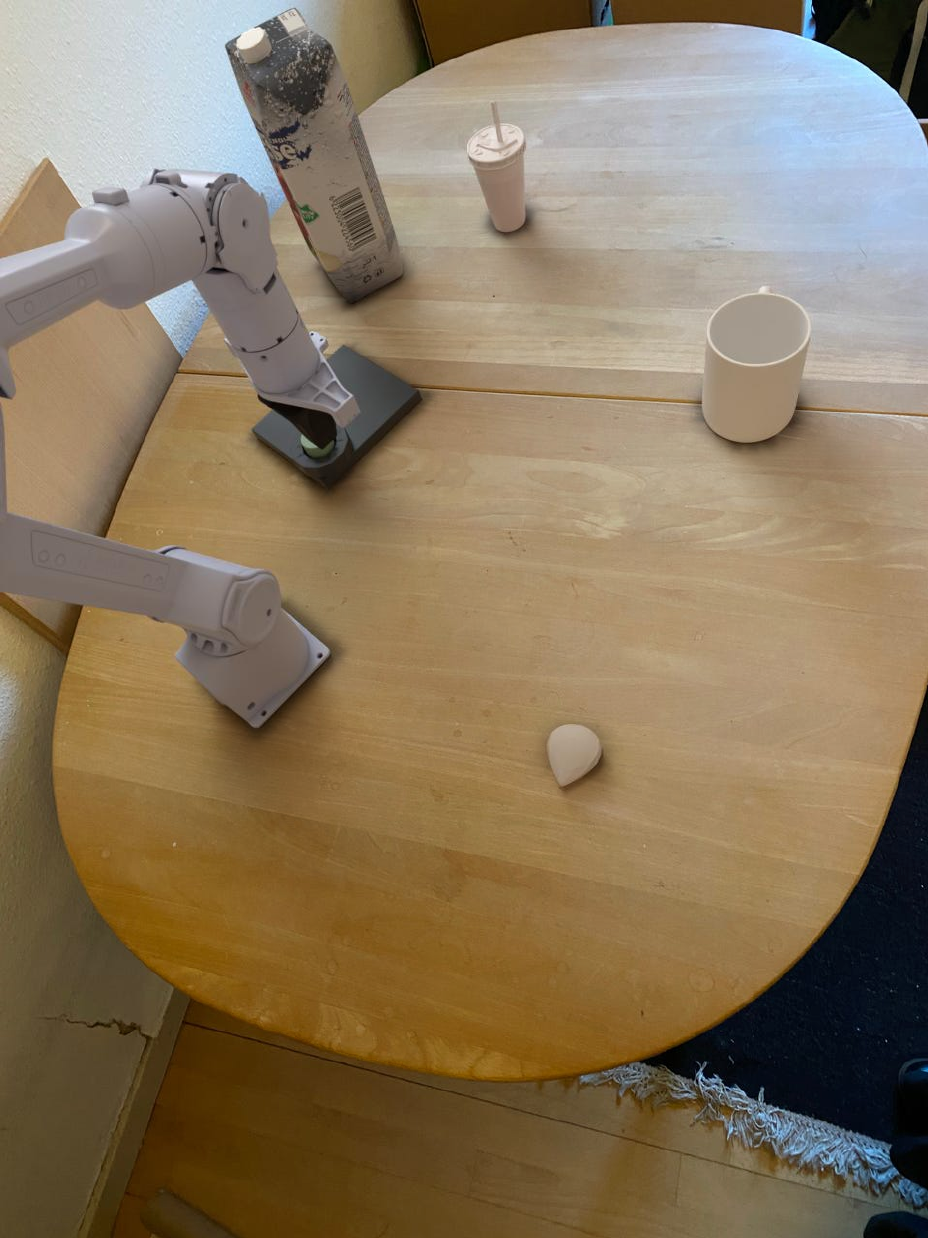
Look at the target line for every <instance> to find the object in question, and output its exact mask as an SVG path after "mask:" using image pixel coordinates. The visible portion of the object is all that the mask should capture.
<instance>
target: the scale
mask: <svg viewBox="0 0 928 1238" xmlns="http://www.w3.org/2000/svg"><path fill="white" fill-rule="evenodd" d="M326 361H327V362H328V364H329V366H330V367H331V369H332V370H333V372H334V374H335V375H336V377H337V378H338V380H339V382H340V383H341V385H342V386H343V387H344V388H345V389H346V390H347V391H348V392H349V393H351V394H352V395H353V396H354V398H355V400H356V402H357V404H358V407H359V409H360V411H361V412H360V413H359V414H358V415H357V416H356V417H355V418H354V419H353V420H352V421H351V422H350V423H349V424H348V425H347V426H345V427H344V428H342V427H341V426H339V425H338V424H336V428H337V437H336V438H335V439H334V447H333V449H332V451H331V452H330V453H329V454H328V455H326V456H324V457H321V458H313V457H311V456H309V455H308V454H307V452H306V450H305V449H304V447H303V445H302V444H301V436H302V433H301V432H300V431H299V430H298V429H297V428H296V427H295V426H294V425H293V424H292V423H291V422H290V421H289V420H287V419H285V418H284V417H282V416H281V415H280V414H278V413H277V412H275V411H274V410H273V409H271V410H270V411H269V412H268V413H267V414H266V415H265V416H264V417H263V418H261V419H260V420H259V422H257V423H256V424H255V425H254V426H253V427H252V428H251V432H252V433H253V434H254V436H255V438H256V439H258V440H259V441H261V442H262V443H263V444H264V445H266V446H267V447H269V448H270V449H272V451H274V452H275V453H277V454H278V455H280V456H281V457H282V458H284V459H285V460H286V461H288V462H289V463H291V464H292V465H293V466H294V467H296V468H297V469H298V470H299V471H300V472H302V473H303V474H304V475H306V476H307V477H309V478H311V479H312V480H313V481H315V482H316V483H318V484H319V485H320V486H322V487H323V488H325V489H326V490H327V491H328V490H330V489H331V488H332V487H333V486H334V485H335V484H336V483H337V482H338V481H339V480H340V479H341V478H342V477H343V476H344V475H345V474H346V473H347V472H348V471H349V470H350V469H351V468H352V467H353V466H354V465H356V463H358V462H359V461H360V459H361V458H363V457H364V456H365V455H366V454H367V453H368V452H369V451H370V450H371V449H372V448H373V447H374V446H375V445H376V444H377V443H378V442H379V441H380V440H381V439H383V437H385V436H386V435H387V434H388V432H390V431H391V430H392V428H394V427H395V426H396V425H397V424H398V423H399V422H400V421H401V420H403V418H404V417H405V416H406V415H408V413H409V412H410V411H412V410H413V409H414V408H415V407H416V406H417V405H418V404H419V402H421V401H422V399H423V397H422V395H421V392H420V390H419V388H416V387H415V386H413V385H411V384H409V383H408V382H406V381H405V380H403V379H402V378H400V377H398V376H396V375H394V374H393V373H392V372H390V371H388V370H387V369H385V368H383V367H381V365H378V364H377V363H376V362H373V361H372V360H370V359H369V358H367V357H365V356H364V355H362V354H360V353H358V352H357V351H355V350H354V349H352V348H350V347H349V346H347V345H345V344H342V345H341V346H340V347H339V348H338V349H337V350H335V351H334V352H333V353H332V354H331V355H330V356H329V357H328V358H327V359H326Z"/></svg>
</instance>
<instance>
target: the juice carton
mask: <svg viewBox="0 0 928 1238" xmlns="http://www.w3.org/2000/svg"><path fill="white" fill-rule="evenodd" d="M224 48H225V51H226V54H227V57H228V60H229V62H230V65H231V69H232V71H233V74H234V78H235V81H236V83H237V87H238V89H239V92H240V95H241V97H242V100H243V102H244V104H245V107H246V109H247V111H248V113H249V116H250V118H251V121H252V123H253V125H254V128H255V130H256V132H257V135H258V136H259V139H260V141H261V144H262V146H263V148H264V150H265V153H266V155H267V157H268V160H269V162H270V164H271V166H272V168H273V171H274V173H275V176H276V178H277V180H278V182H279V185H280V187H281V189H282V192H283V194H284V196H285V198H286V201H287V203H288V205H289V208H290V210H291V213H292V214H293V217H294V219H295V221H296V223H297V226H298V228H299V230H300V232H301V234H302V237H303V239H304V241H305V243H306V245H307V247H308V249H309V251H310V252H311V254H312V255H313V257H314V258H315V260H316V261H317V262H318V263H319V265H320V266H321V267H322V269H323V270H324V272H325V273H326V275H327V276H328V278H329V280H330V281H331V282H332V283H333V284H334V286H335V287H336V288H337V290H338V291H339V293H340V294H341V295H342V296H343V297H344V298H345V300H346V301H347V302H349V303H352V304H353V303H355V302H357V301H360V300H361V299H362V298H364V297H366V296H368V295H369V294H371V293H373V292H374V291H376V290H378V289H380V288H382V287H384V286H385V285H388V284H390V283H392V282H393V281H395V280H398V279H399V278H400V277H402V275H403V272H404V271H403V263H402V257H401V251H400V246H399V241H398V237H397V234H396V231H395V230H396V229H395V227H394V224H393V221H392V218H391V215H390V212H389V209H388V205H387V202H386V199H385V196H384V193H383V191H382V187H381V184H380V181H379V177H378V175H377V172H376V169H375V165H374V162H373V159H372V155H371V153H370V150H369V147H368V143H367V140H366V138H365V137H366V136H365V134H364V131H363V128H362V125H361V122H360V119H359V116H358V113H357V110H356V106H355V104H354V101H353V98H352V94H351V92H350V91H351V90H350V89H349V86H348V83H347V80H346V77H345V74H344V72H343V70H342V67H341V65H340V62H339V60H338V58H337V55H336V53H335V50H334V48H333V45H332V44H331V42H329V41H328V40H327V39H326V38H325V37H324V36H321V35H319V34H318V33H316V32H315V31H314V30H313V29H311V27H310V26H309V24H308V23H307V21H306V20H305V18H304V16H303V15H302V13H301V12H300V11H299V9H298V8H296V7H291V8H289V9H286V10H285V11H283V12H281V13H279V14H277V15H275V16H273V17H272V18H269V19H267V20H265V21H264V22H262V23H260V24H258V25H256V26H254V27H251V28H249V29H248V30H247V31H244V32H242V33H241V34H239V35H237V36H235V37H234V38H232V39H231V40H228V41H227V42H226V43H225V44H224Z"/></svg>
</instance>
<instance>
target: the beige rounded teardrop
mask: <svg viewBox="0 0 928 1238" xmlns="http://www.w3.org/2000/svg"><path fill="white" fill-rule="evenodd" d="M546 752H547V758H548V762H549V765H550V768H551V770H552V773H553V775H554V777H555V780H556V781H557V783H558V784H559V786H561V787H564V786H567V785H569V784H571V783H573V782H575V781H577V780H580V779H581V778H582V777H584V776H585V775H587V774H588V773H589V772H590V771H592V770H593V769H594V768H595V767H596V766H597V765H598V763H599V762H600V760H601V758H602V753H603V746H602V744H601V741H600V739H599V737H598V735H597V734H596V733H595V732H594V731H592V730H591V729H590V728H588V727H586V726H584V725H580V724H575V723H569V724H563V725H560V726H557V727H556V728H555V729H554V730H552V732H551V733H550V735H549V736H548V739H547V744H546Z"/></svg>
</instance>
